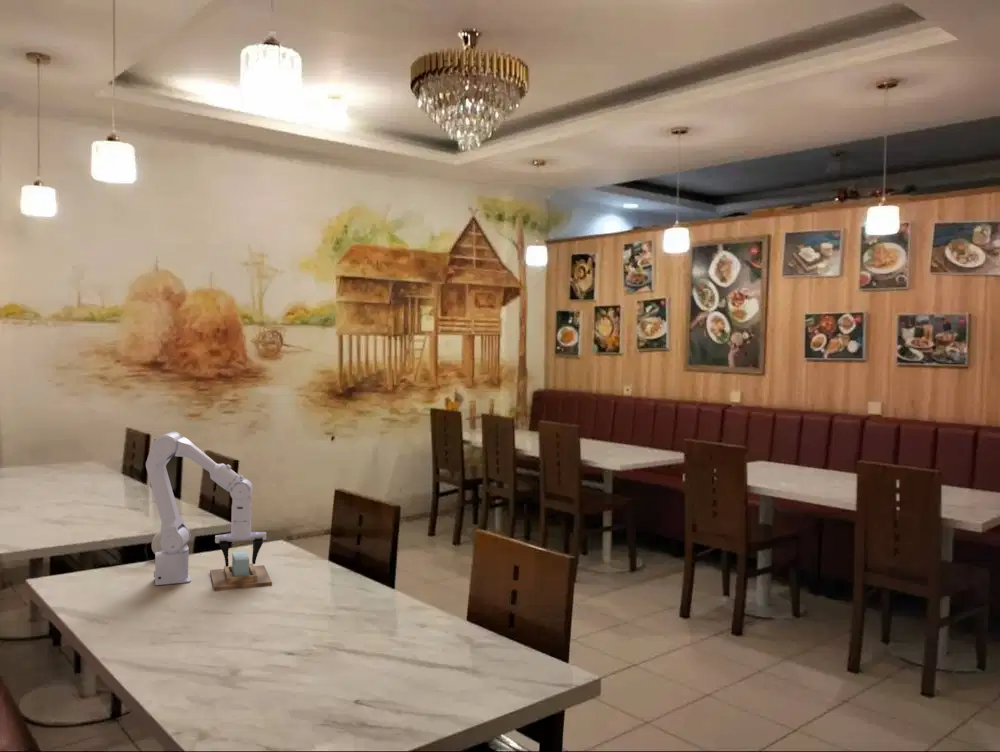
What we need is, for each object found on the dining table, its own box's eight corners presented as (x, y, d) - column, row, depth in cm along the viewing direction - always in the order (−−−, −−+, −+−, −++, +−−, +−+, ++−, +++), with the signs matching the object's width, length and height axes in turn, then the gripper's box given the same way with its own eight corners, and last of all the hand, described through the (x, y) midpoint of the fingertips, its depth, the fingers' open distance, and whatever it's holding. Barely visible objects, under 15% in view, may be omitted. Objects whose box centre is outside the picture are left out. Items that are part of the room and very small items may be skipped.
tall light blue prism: (234, 580, 222) (235, 560, 222) (231, 571, 230) (232, 552, 230) (248, 579, 224) (249, 559, 223) (245, 570, 232) (245, 551, 232)
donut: (153, 561, 241) (154, 531, 241) (149, 559, 244) (149, 529, 243) (184, 556, 249) (184, 526, 249) (179, 553, 251) (179, 524, 251)
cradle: (214, 590, 215) (214, 582, 215) (210, 573, 231) (210, 565, 231) (271, 585, 222) (271, 576, 222) (263, 568, 238) (264, 560, 238)
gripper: (264, 515, 232) (263, 558, 233) (214, 518, 226) (213, 562, 227) (267, 520, 226) (266, 565, 227) (216, 523, 220) (215, 569, 221)
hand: (240, 564), depth 226 cm, fingers open, 7 cm apart
